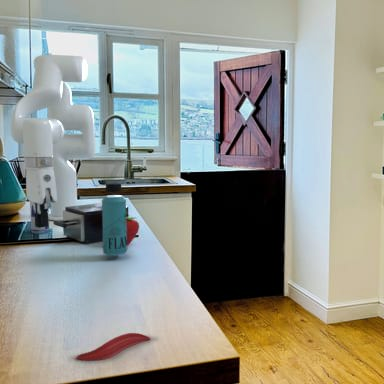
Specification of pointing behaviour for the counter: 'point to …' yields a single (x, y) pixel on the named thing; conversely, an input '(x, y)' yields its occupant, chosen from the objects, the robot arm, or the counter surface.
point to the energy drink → (33, 228)
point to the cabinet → (91, 221)
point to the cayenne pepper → (113, 346)
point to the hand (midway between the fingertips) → (41, 226)
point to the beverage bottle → (114, 221)
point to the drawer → (72, 225)
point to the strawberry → (131, 228)
